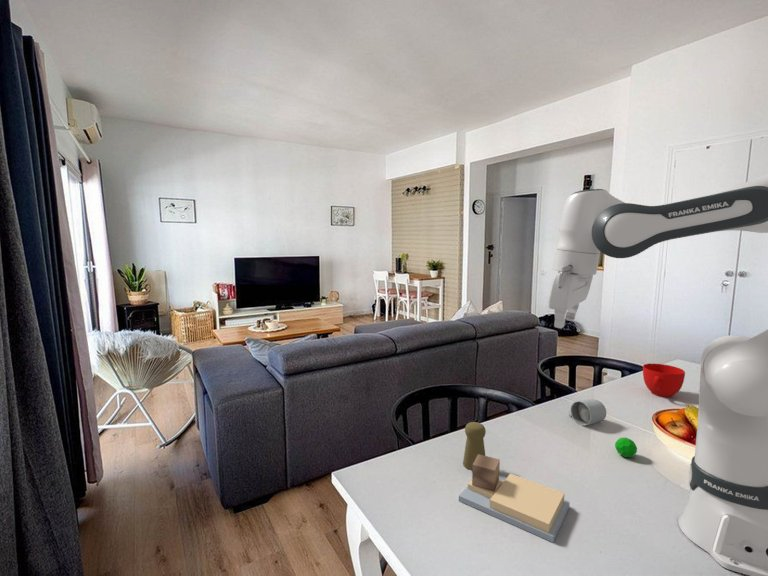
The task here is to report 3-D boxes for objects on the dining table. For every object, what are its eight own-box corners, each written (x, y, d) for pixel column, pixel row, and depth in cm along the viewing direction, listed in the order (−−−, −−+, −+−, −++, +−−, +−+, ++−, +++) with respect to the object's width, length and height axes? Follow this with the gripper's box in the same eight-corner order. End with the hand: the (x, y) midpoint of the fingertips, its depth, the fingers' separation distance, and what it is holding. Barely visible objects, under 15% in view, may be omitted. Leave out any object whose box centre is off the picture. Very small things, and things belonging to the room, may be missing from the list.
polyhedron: (636, 454, 106) (637, 437, 105) (636, 462, 102) (637, 445, 101) (615, 449, 109) (616, 432, 108) (614, 457, 104) (615, 440, 104)
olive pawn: (487, 472, 97) (488, 430, 96) (462, 470, 99) (463, 428, 97) (485, 459, 103) (486, 419, 102) (462, 457, 104) (463, 418, 103)
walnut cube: (499, 479, 91) (499, 459, 90) (494, 491, 86) (495, 470, 86) (477, 473, 93) (478, 454, 92) (472, 485, 88) (472, 464, 88)
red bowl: (633, 396, 146) (635, 370, 145) (646, 385, 157) (648, 361, 156) (675, 406, 136) (678, 379, 135) (686, 394, 148) (688, 368, 146)
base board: (569, 506, 85) (569, 493, 84) (552, 542, 75) (553, 528, 74) (482, 473, 97) (483, 462, 97) (458, 500, 87) (458, 488, 86)
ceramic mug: (608, 424, 123) (609, 401, 122) (590, 430, 120) (591, 405, 119) (578, 412, 133) (579, 390, 132) (561, 416, 129) (562, 394, 128)
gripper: (579, 269, 76) (567, 336, 79) (599, 263, 92) (589, 319, 95) (546, 264, 80) (536, 328, 83) (571, 260, 96) (561, 314, 99)
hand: (564, 323), depth 89 cm, fingers open, 8 cm apart
